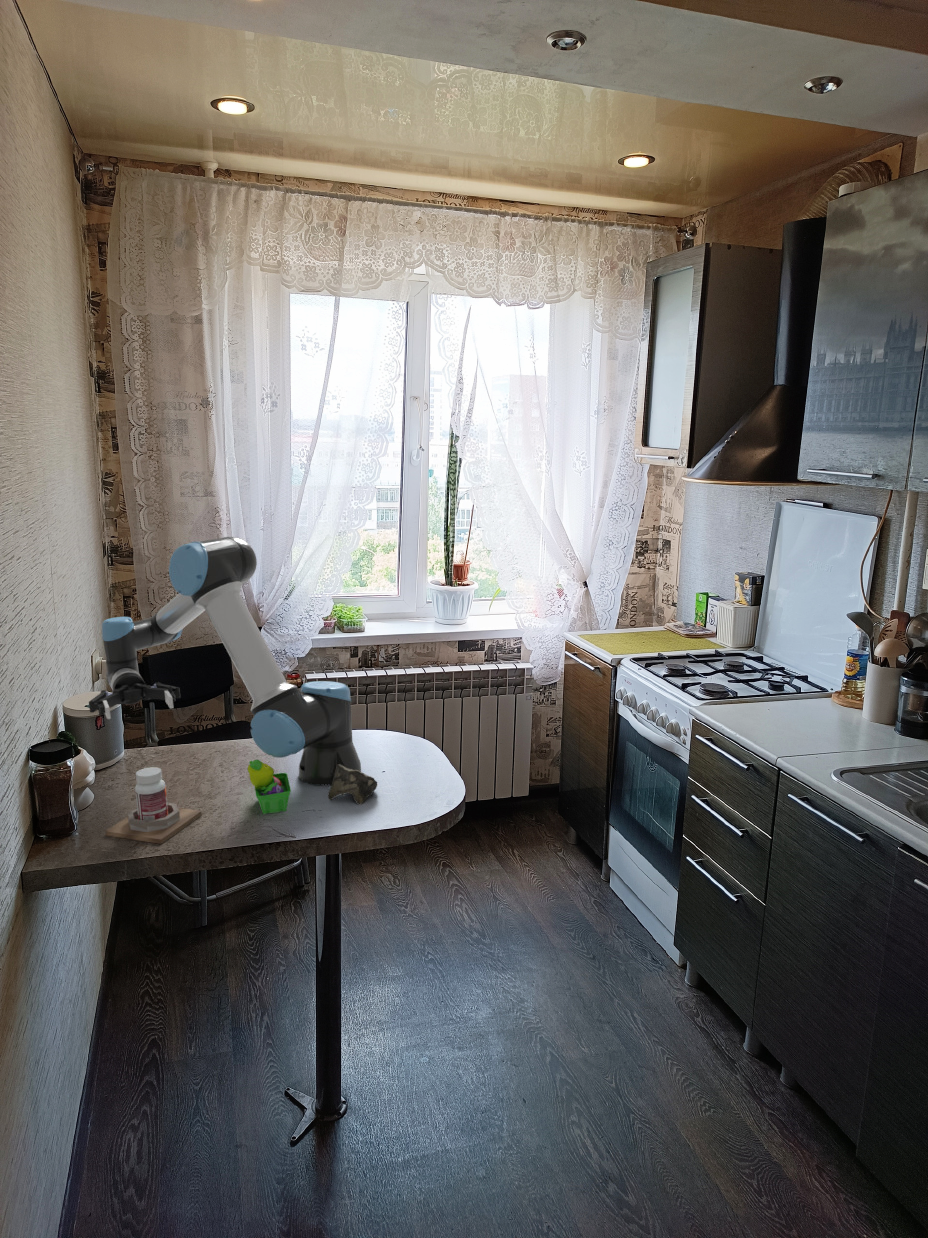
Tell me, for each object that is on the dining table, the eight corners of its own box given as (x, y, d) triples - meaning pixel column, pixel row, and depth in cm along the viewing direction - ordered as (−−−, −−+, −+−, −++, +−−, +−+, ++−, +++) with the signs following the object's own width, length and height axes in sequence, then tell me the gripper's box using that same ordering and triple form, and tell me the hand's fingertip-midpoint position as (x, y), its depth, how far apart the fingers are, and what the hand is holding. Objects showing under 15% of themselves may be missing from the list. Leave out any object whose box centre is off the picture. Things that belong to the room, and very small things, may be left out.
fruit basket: (292, 812, 190) (289, 764, 187) (251, 818, 187) (248, 770, 185) (288, 792, 201) (285, 747, 198) (249, 797, 198) (245, 751, 196)
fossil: (383, 784, 202) (378, 757, 196) (374, 816, 196) (368, 789, 189) (339, 781, 204) (332, 753, 198) (329, 812, 198) (321, 784, 191)
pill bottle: (174, 819, 185) (170, 770, 183) (149, 829, 180) (144, 779, 178) (157, 812, 189) (153, 763, 186) (132, 822, 184) (127, 773, 182)
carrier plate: (201, 815, 189) (200, 802, 189) (161, 844, 176) (160, 830, 176) (148, 808, 193) (147, 795, 193) (105, 835, 180) (103, 822, 180)
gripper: (181, 692, 220) (198, 713, 201) (76, 709, 209) (83, 734, 190) (178, 664, 218) (194, 683, 200) (71, 680, 207) (78, 701, 189)
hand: (140, 708), depth 195 cm, fingers open, 13 cm apart
